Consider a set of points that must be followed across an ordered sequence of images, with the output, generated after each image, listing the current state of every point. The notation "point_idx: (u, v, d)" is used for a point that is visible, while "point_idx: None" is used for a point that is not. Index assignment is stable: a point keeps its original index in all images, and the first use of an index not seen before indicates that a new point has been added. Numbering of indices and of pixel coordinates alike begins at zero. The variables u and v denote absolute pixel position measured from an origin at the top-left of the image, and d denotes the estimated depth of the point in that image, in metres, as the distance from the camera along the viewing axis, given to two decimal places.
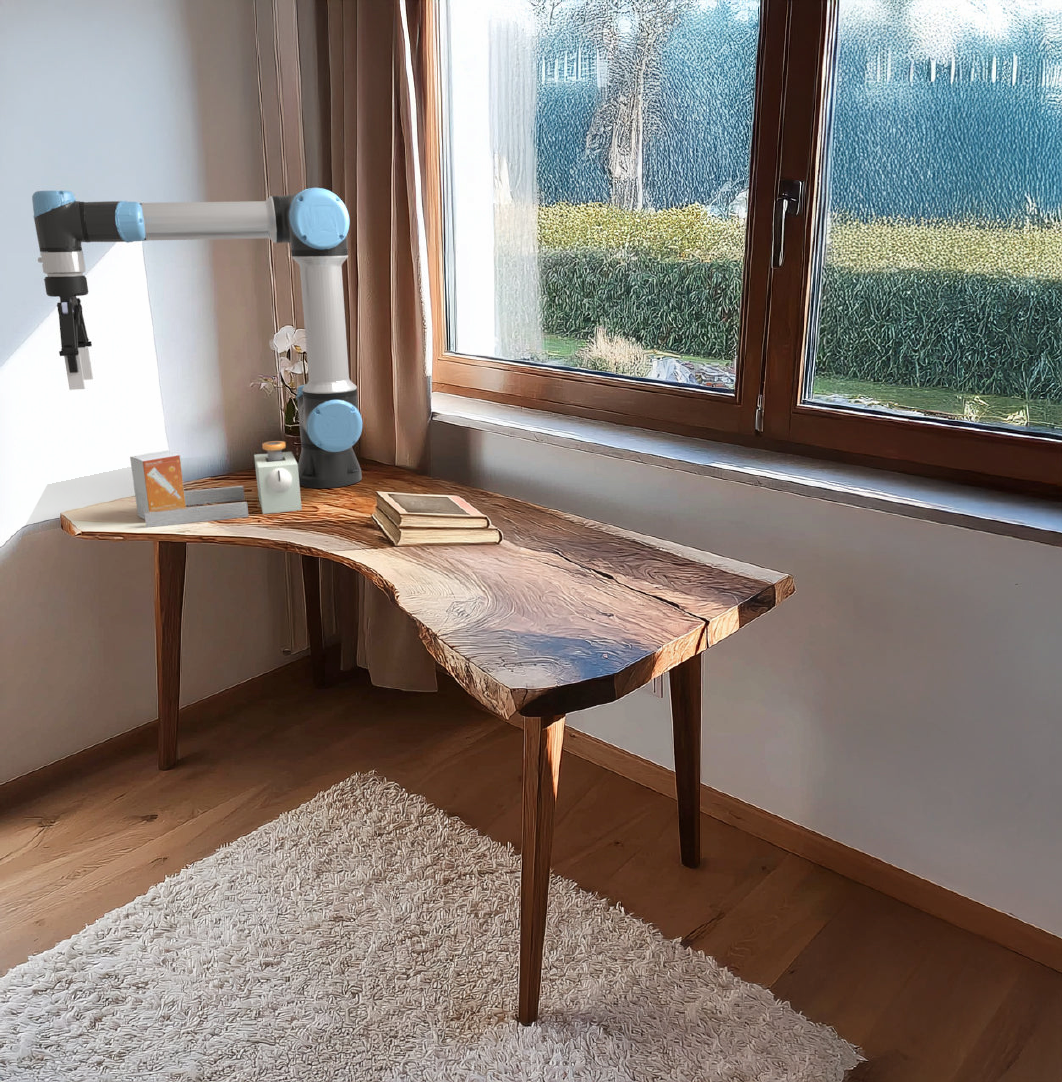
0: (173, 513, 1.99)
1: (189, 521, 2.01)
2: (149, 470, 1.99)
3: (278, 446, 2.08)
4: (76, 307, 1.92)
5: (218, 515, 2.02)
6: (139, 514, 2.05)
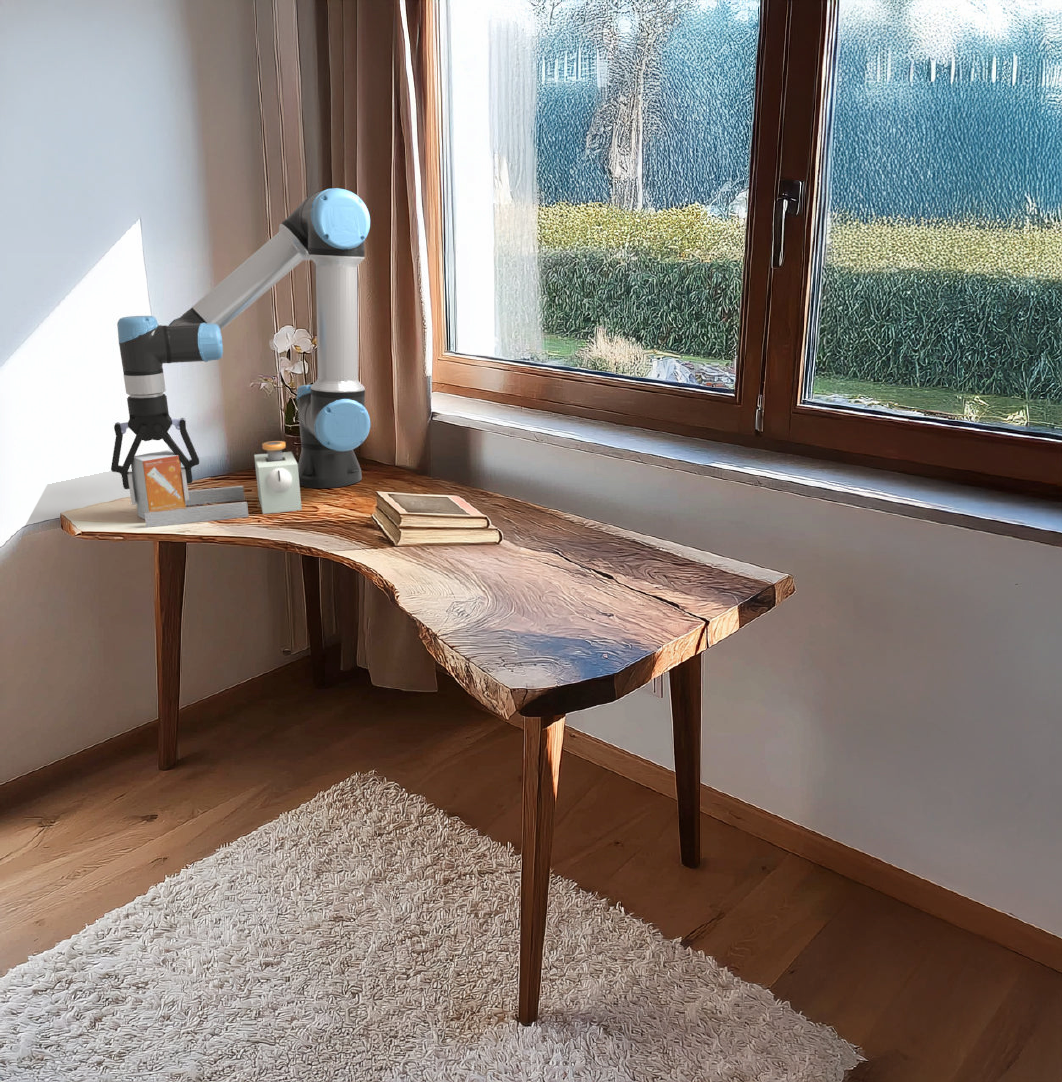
0: (173, 513, 1.99)
1: (189, 521, 2.01)
2: (149, 470, 1.99)
3: (278, 446, 2.08)
4: (140, 426, 1.98)
5: (218, 515, 2.02)
6: (139, 514, 2.05)
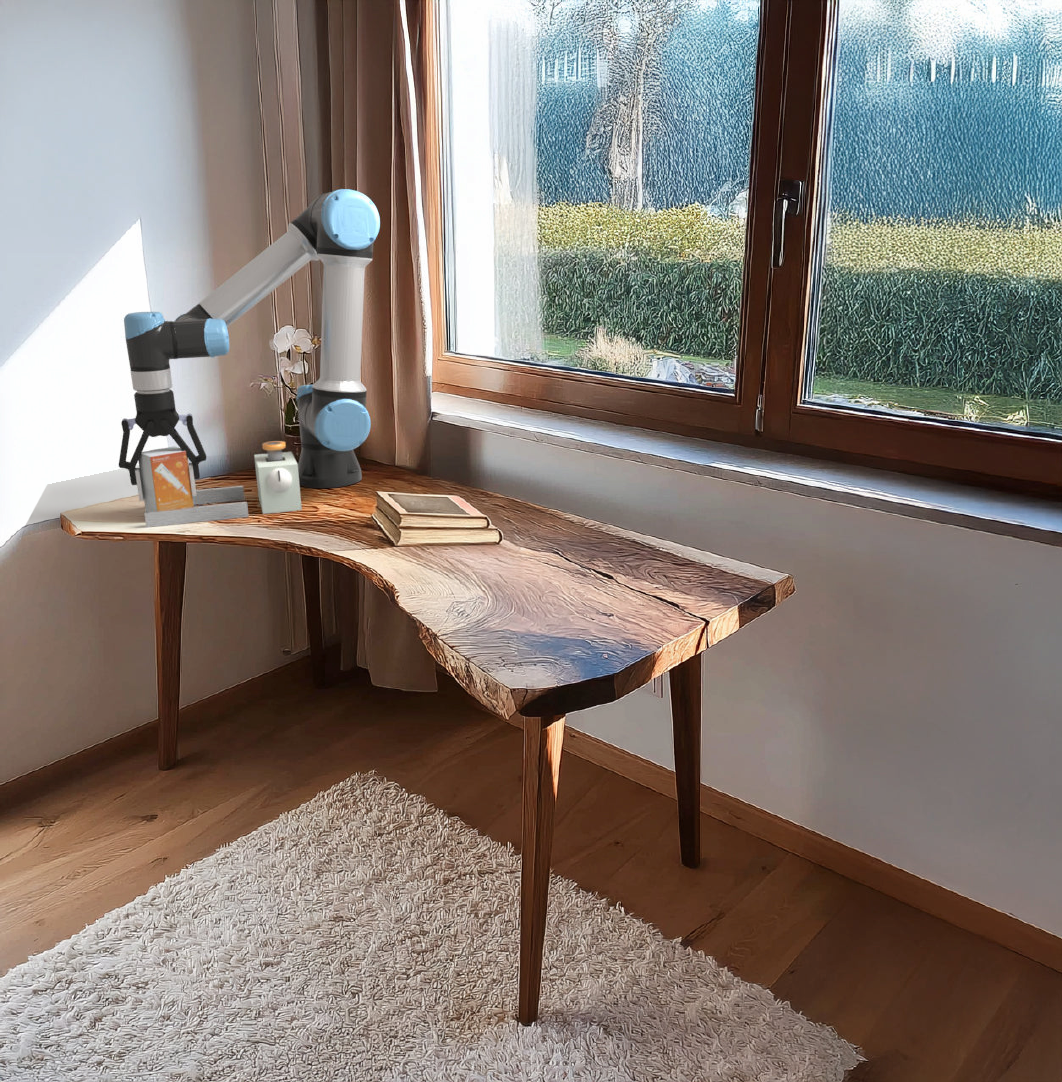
0: (173, 513, 1.99)
1: (189, 521, 2.01)
2: (156, 465, 1.99)
3: (278, 446, 2.08)
4: (147, 422, 1.99)
5: (218, 515, 2.02)
6: (147, 510, 2.05)
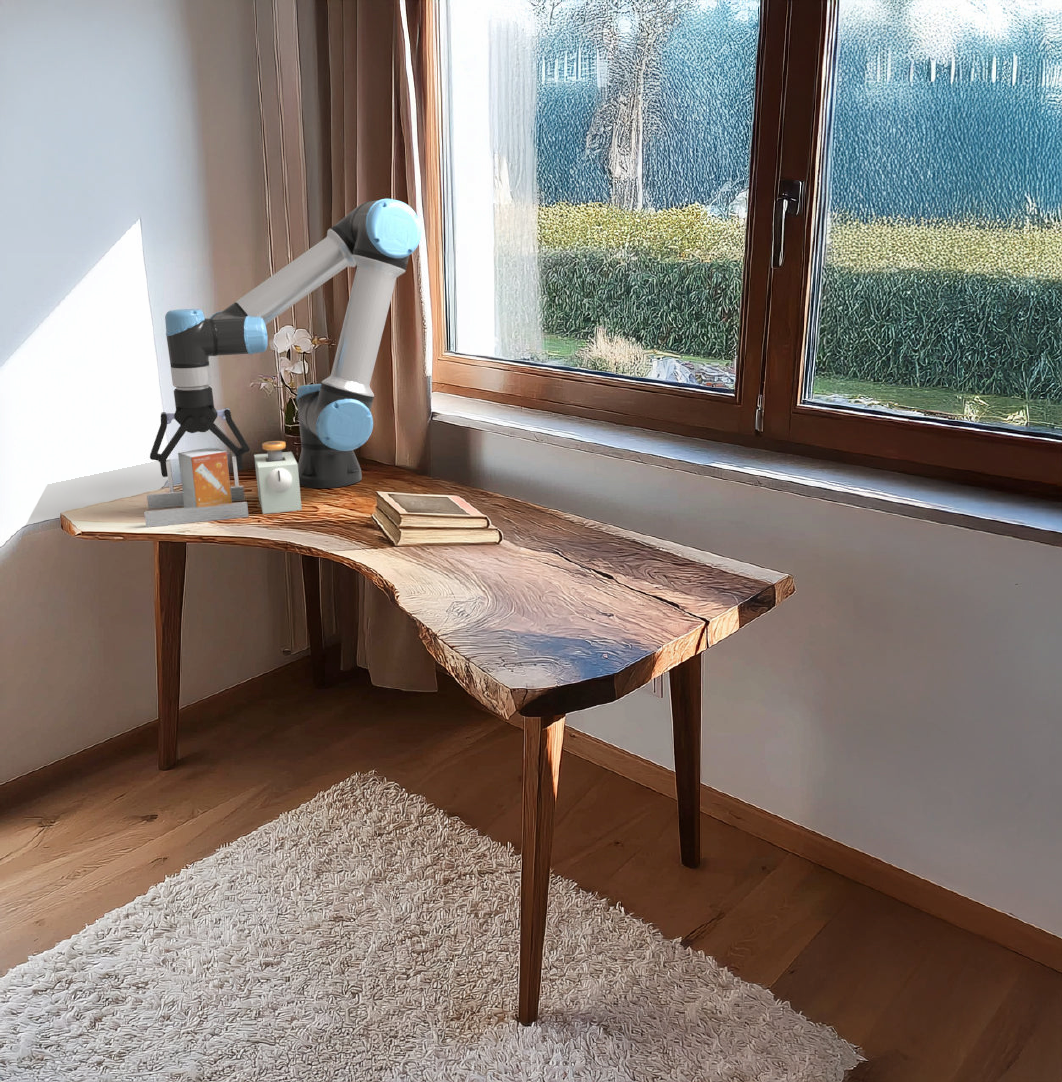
0: (173, 513, 1.99)
1: (189, 521, 2.01)
2: (197, 466, 2.02)
3: (278, 446, 2.08)
4: (187, 418, 2.01)
5: (218, 515, 2.02)
6: None
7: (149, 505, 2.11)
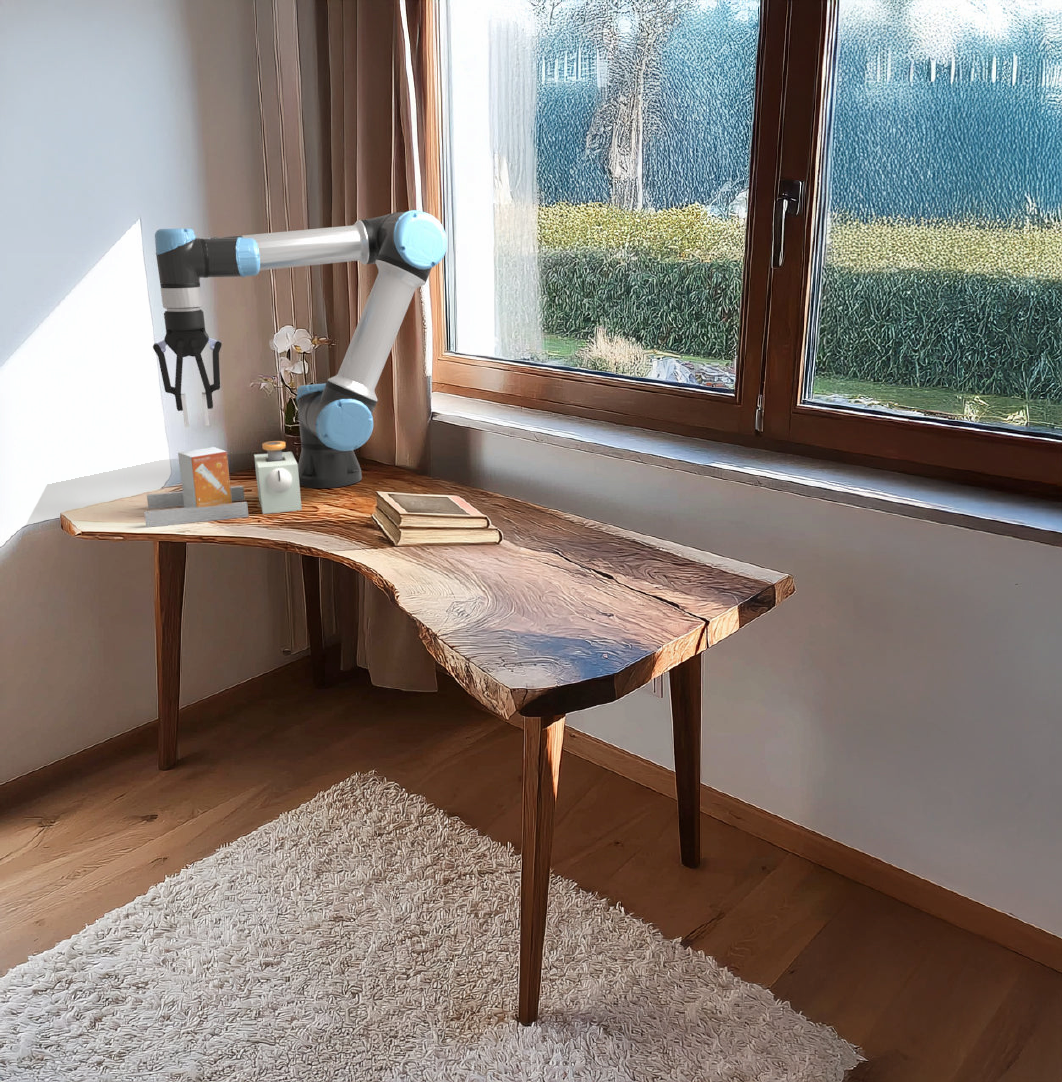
0: (173, 513, 1.99)
1: (189, 521, 2.01)
2: (197, 466, 2.02)
3: (278, 446, 2.08)
4: (177, 343, 1.96)
5: (218, 515, 2.02)
6: None
7: (149, 505, 2.11)
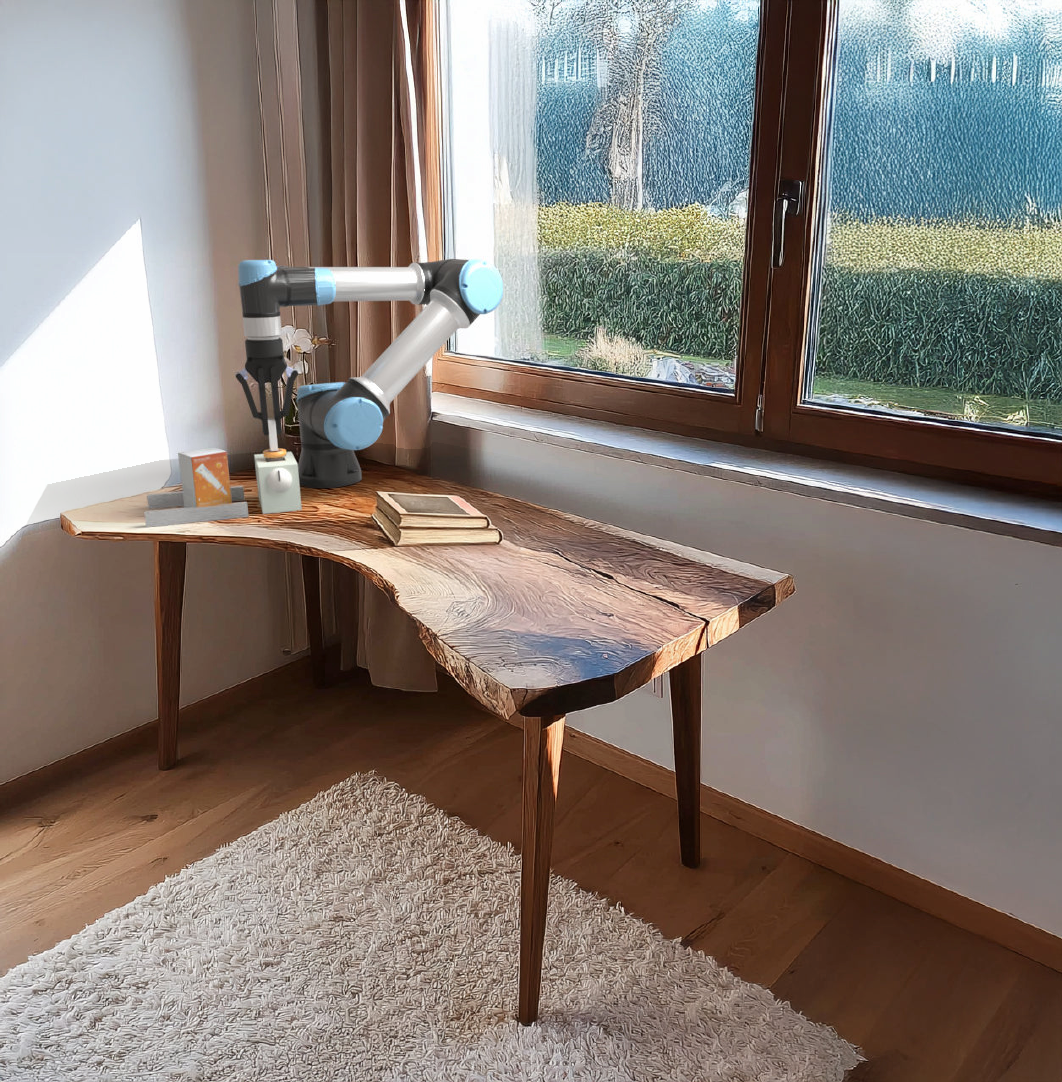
0: (173, 513, 1.99)
1: (189, 521, 2.01)
2: (197, 466, 2.02)
3: (279, 454, 2.08)
4: (257, 370, 2.03)
5: (218, 515, 2.02)
6: None
7: (149, 505, 2.11)
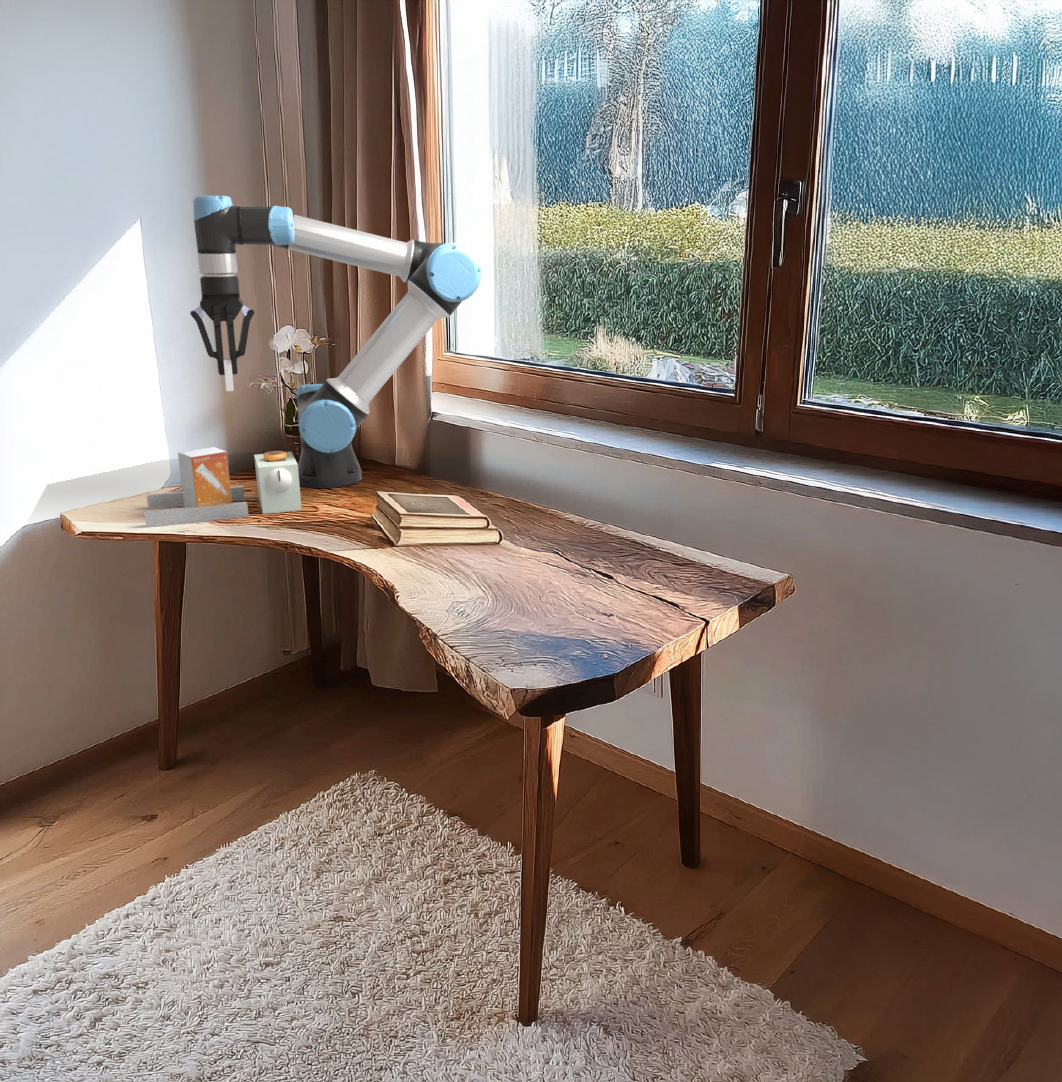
0: (173, 513, 1.99)
1: (189, 521, 2.01)
2: (197, 466, 2.02)
3: (279, 456, 2.08)
4: (213, 308, 2.01)
5: (218, 515, 2.02)
6: None
7: (149, 505, 2.11)
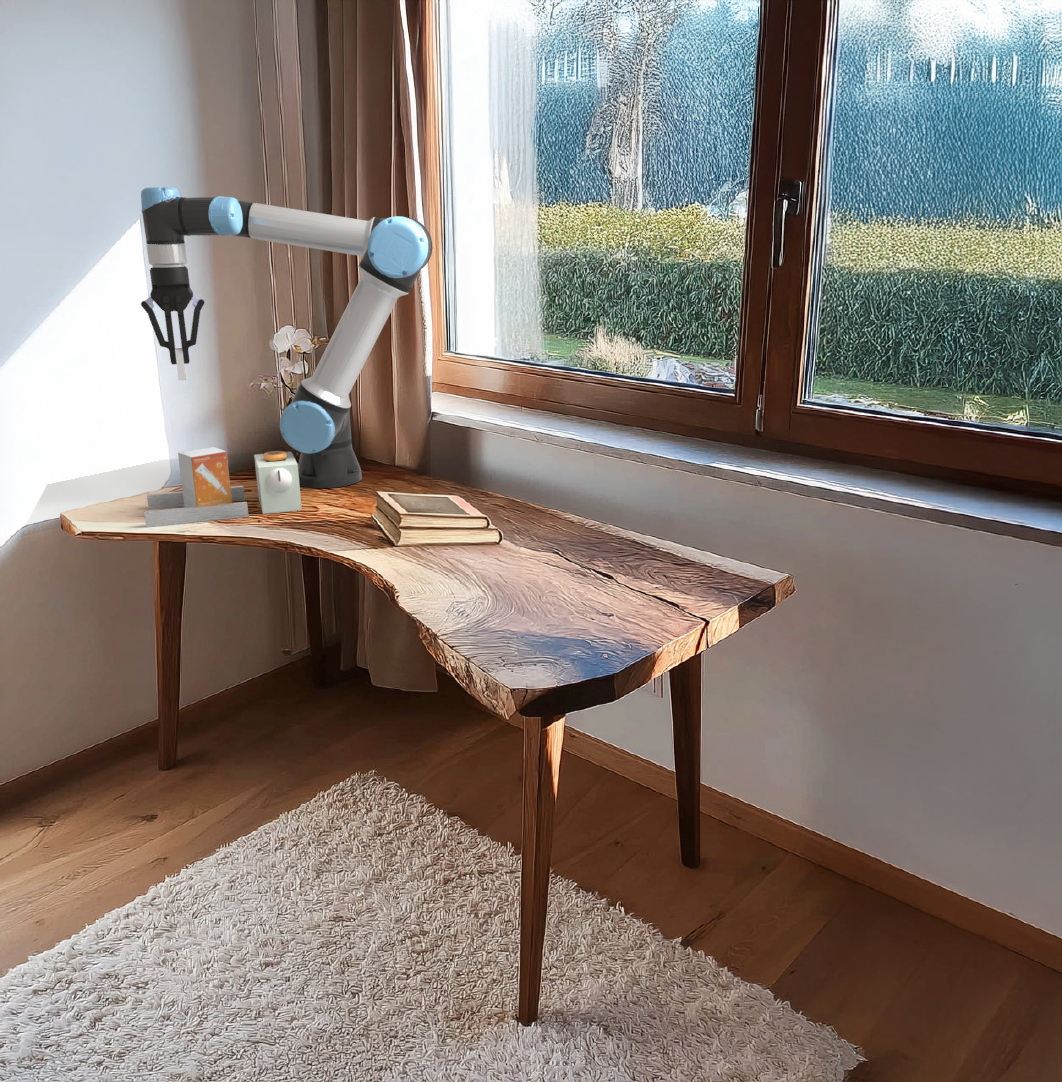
0: (173, 513, 1.99)
1: (189, 521, 2.01)
2: (197, 466, 2.02)
3: (279, 456, 2.08)
4: (162, 298, 2.05)
5: (218, 515, 2.02)
6: None
7: (149, 505, 2.11)
